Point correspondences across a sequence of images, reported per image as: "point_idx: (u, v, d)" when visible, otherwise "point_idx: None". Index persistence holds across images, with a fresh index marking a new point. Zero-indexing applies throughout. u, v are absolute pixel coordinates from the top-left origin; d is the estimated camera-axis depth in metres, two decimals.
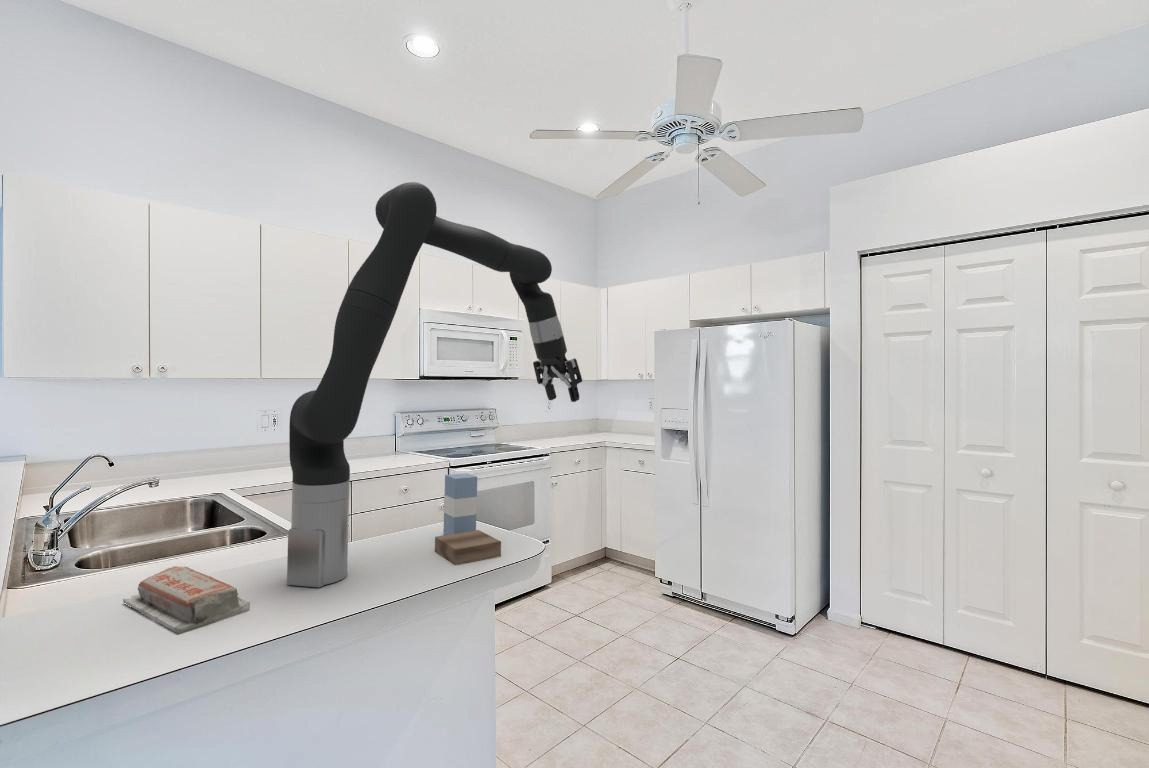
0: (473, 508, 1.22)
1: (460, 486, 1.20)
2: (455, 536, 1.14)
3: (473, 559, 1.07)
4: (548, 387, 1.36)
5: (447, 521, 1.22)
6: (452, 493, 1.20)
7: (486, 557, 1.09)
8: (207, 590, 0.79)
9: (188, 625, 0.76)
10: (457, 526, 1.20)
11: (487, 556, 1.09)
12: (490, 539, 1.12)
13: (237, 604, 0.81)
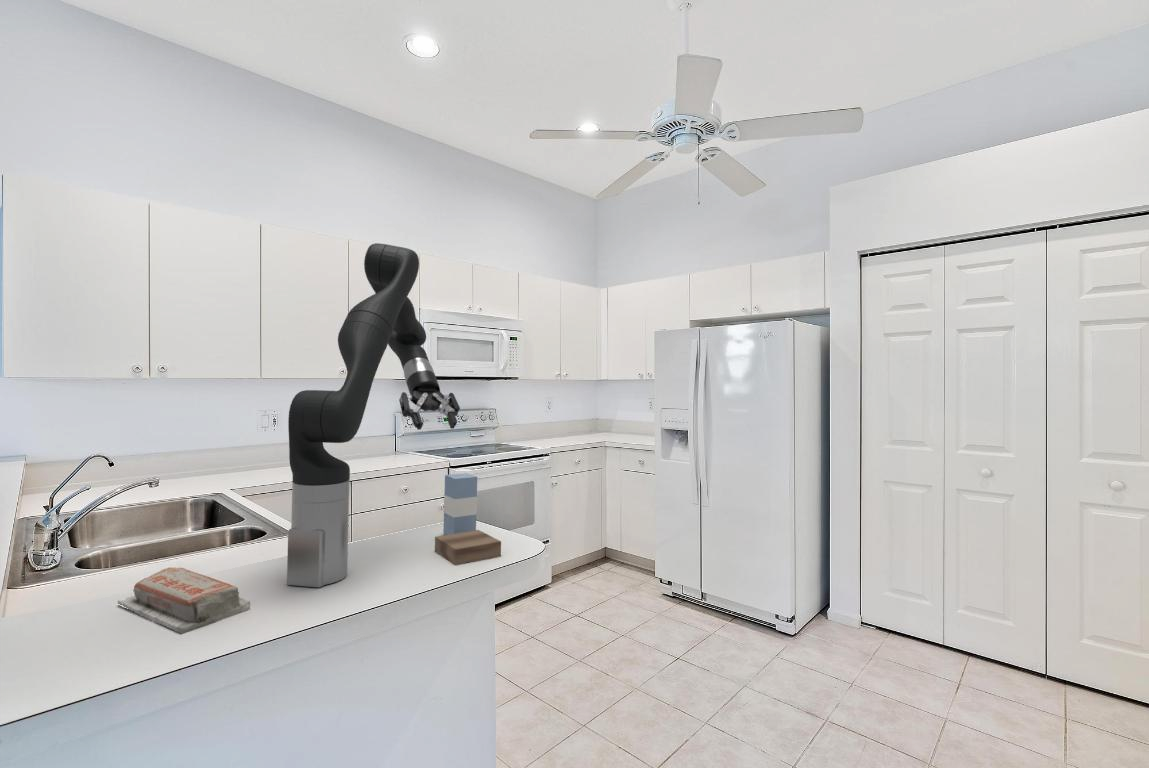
0: (473, 508, 1.22)
1: (460, 486, 1.20)
2: (455, 536, 1.14)
3: (473, 559, 1.07)
4: None
5: (447, 521, 1.22)
6: (452, 493, 1.20)
7: (486, 557, 1.09)
8: (208, 590, 0.79)
9: (190, 624, 0.76)
10: (457, 526, 1.20)
11: (487, 556, 1.09)
12: (490, 539, 1.12)
13: (238, 603, 0.82)
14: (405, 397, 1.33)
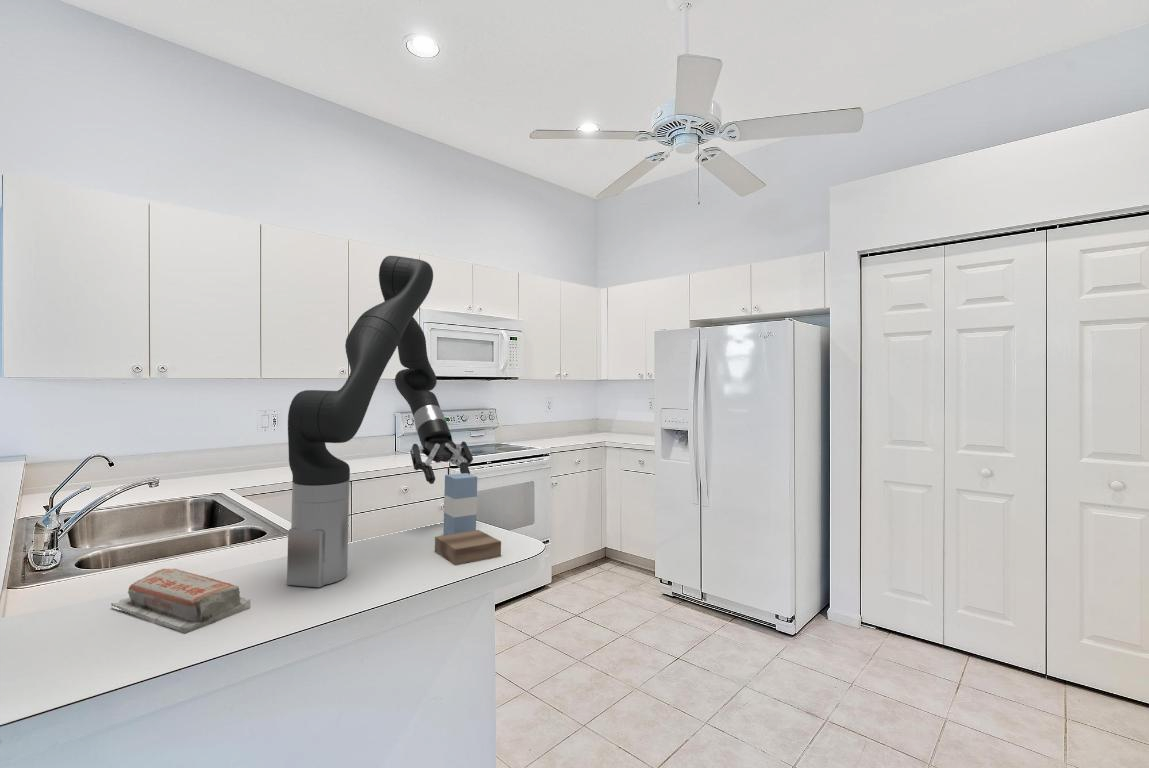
0: (473, 508, 1.22)
1: (460, 486, 1.20)
2: (455, 536, 1.14)
3: (473, 559, 1.07)
4: None
5: (447, 521, 1.22)
6: (452, 493, 1.20)
7: (486, 557, 1.09)
8: (209, 589, 0.80)
9: (194, 624, 0.76)
10: (457, 526, 1.20)
11: (487, 556, 1.09)
12: (490, 539, 1.12)
13: (239, 602, 0.82)
14: (416, 449, 1.28)
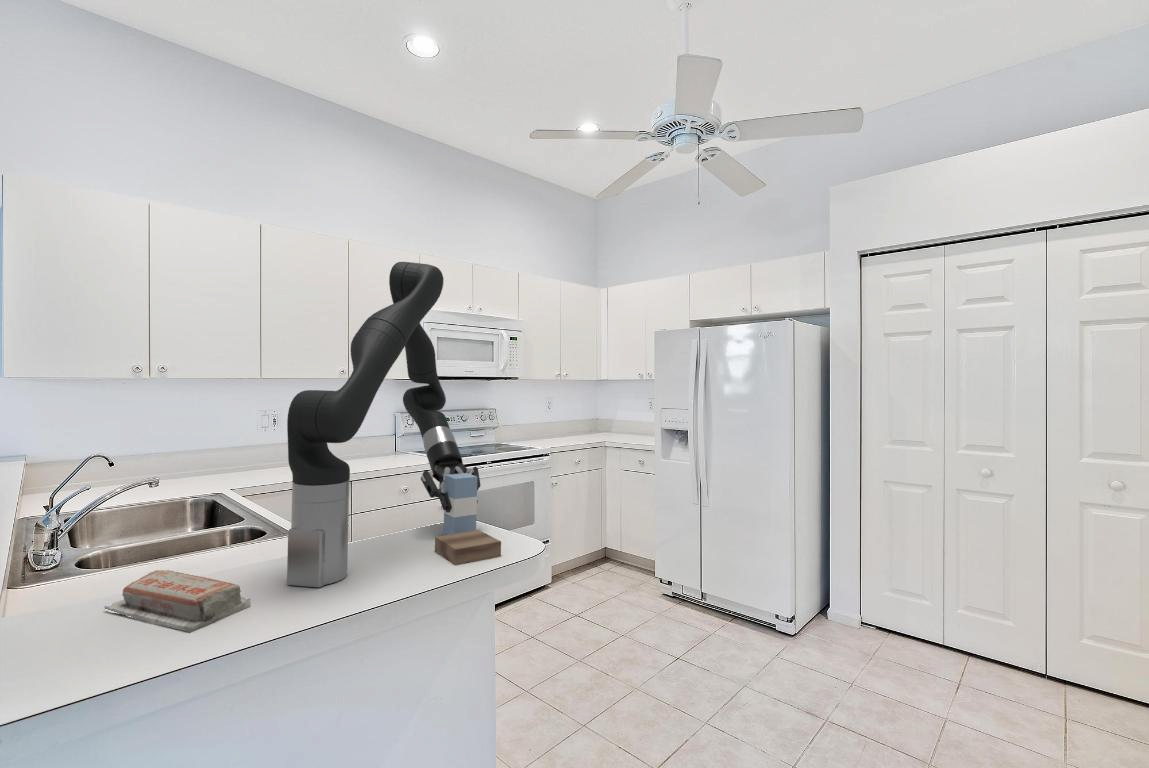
0: (473, 508, 1.22)
1: (460, 486, 1.20)
2: (455, 536, 1.14)
3: (473, 559, 1.07)
4: None
5: (447, 521, 1.22)
6: (452, 493, 1.20)
7: (486, 557, 1.09)
8: (210, 589, 0.80)
9: (197, 623, 0.76)
10: (458, 526, 1.20)
11: (487, 556, 1.09)
12: (490, 539, 1.12)
13: (240, 601, 0.82)
14: (428, 476, 1.23)
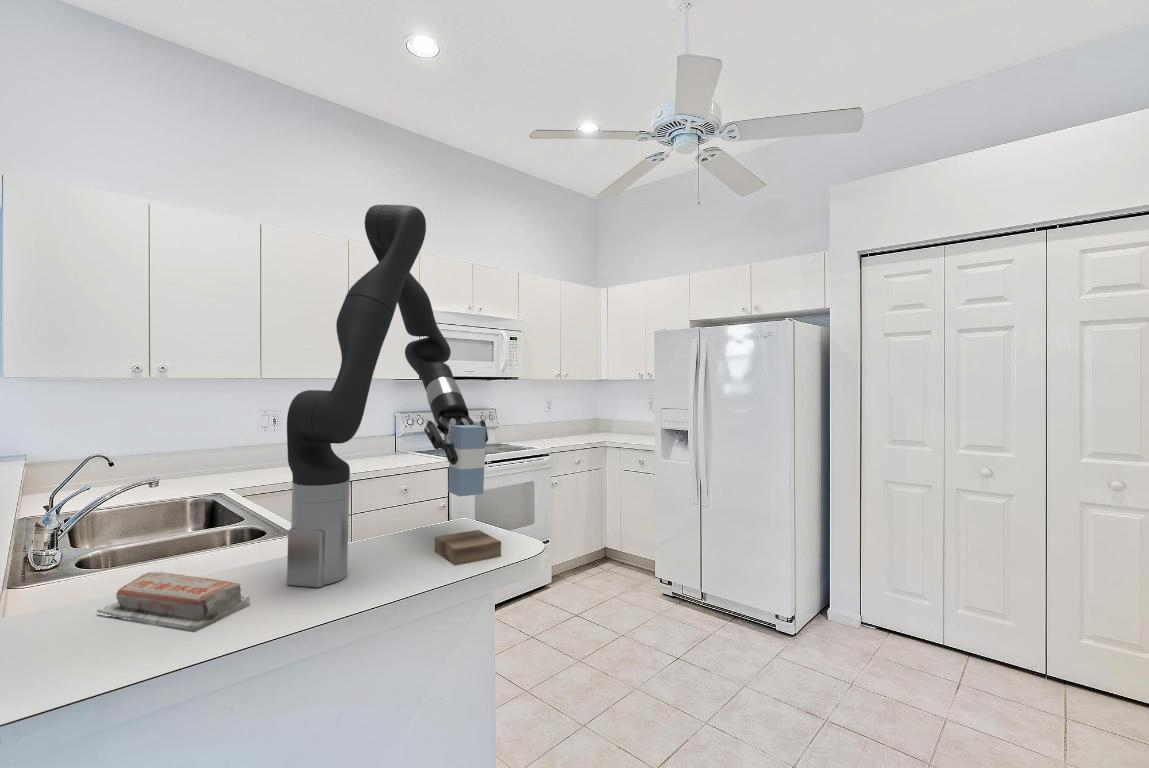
0: (481, 461, 1.13)
1: (468, 436, 1.11)
2: (455, 536, 1.14)
3: (473, 559, 1.07)
4: None
5: (452, 475, 1.13)
6: (459, 443, 1.11)
7: (486, 557, 1.09)
8: (212, 588, 0.80)
9: (202, 622, 0.77)
10: (464, 479, 1.11)
11: (487, 556, 1.09)
12: (490, 539, 1.12)
13: (240, 599, 0.83)
14: (433, 426, 1.14)
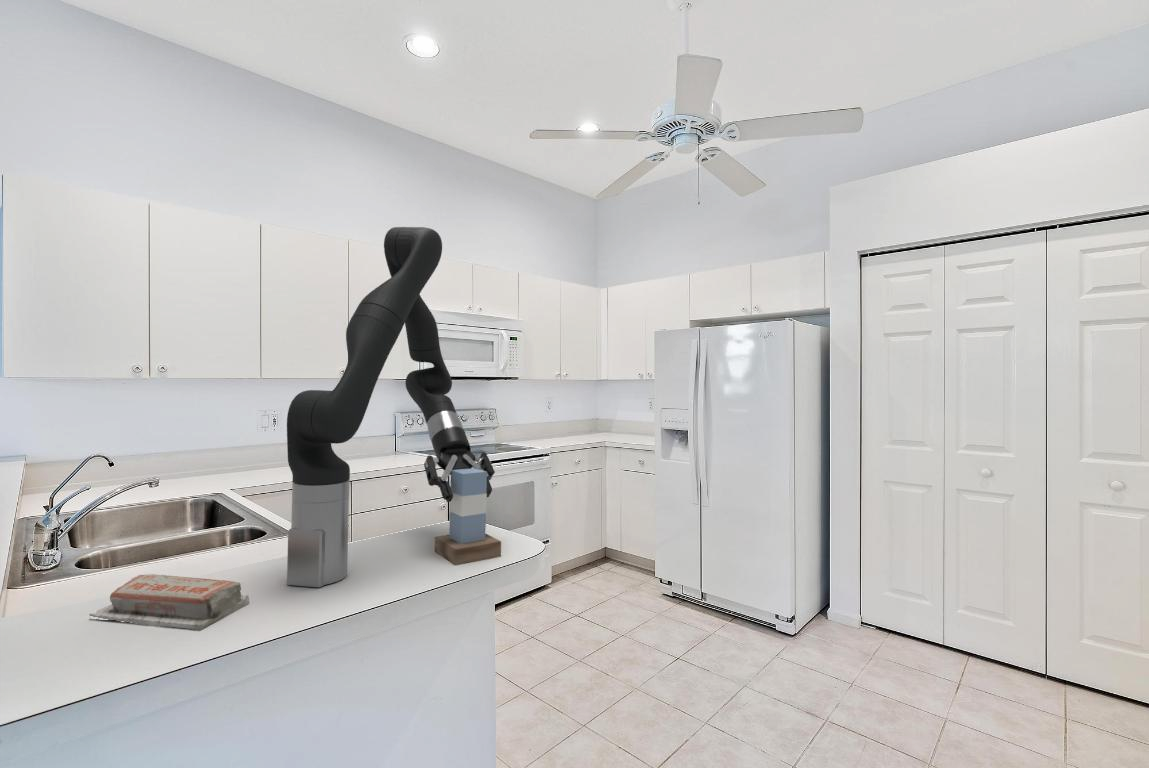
0: (482, 506, 1.11)
1: (469, 482, 1.09)
2: None
3: (473, 559, 1.07)
4: None
5: (453, 521, 1.11)
6: (460, 489, 1.09)
7: (486, 557, 1.09)
8: (213, 587, 0.80)
9: (206, 620, 0.77)
10: (466, 526, 1.09)
11: (487, 556, 1.09)
12: (490, 539, 1.12)
13: (240, 598, 0.84)
14: (431, 462, 1.12)
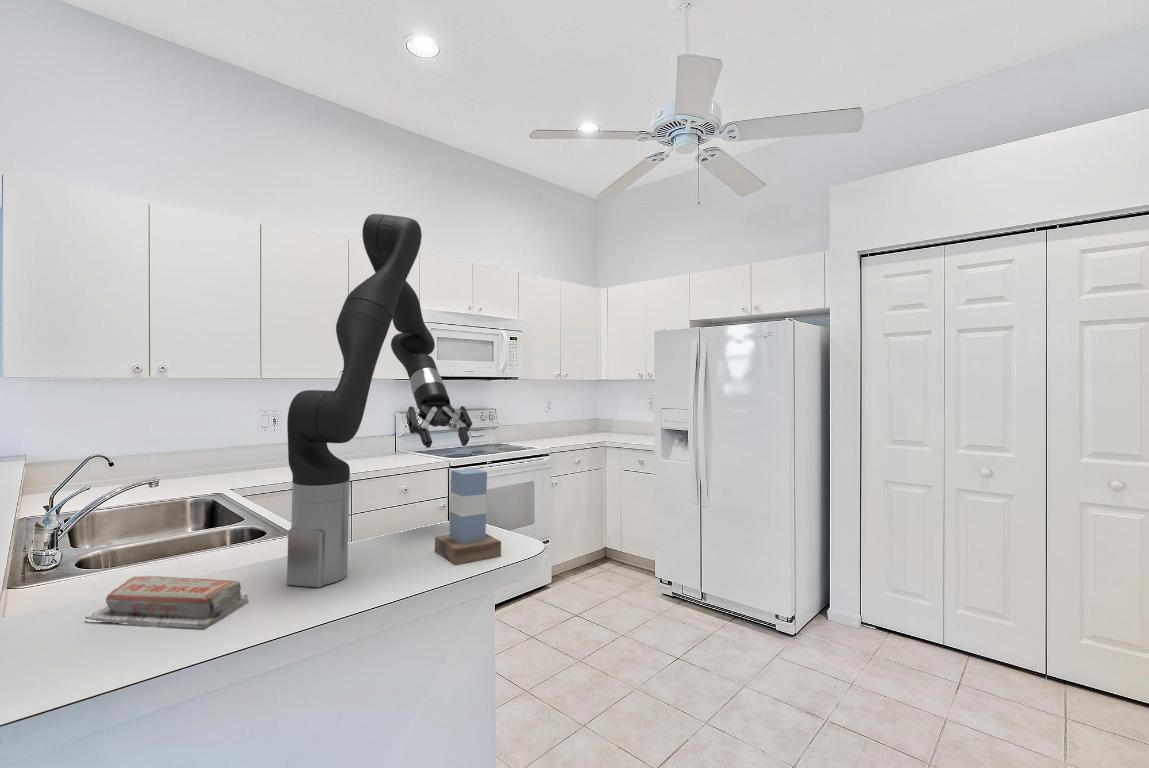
0: (482, 506, 1.11)
1: (469, 482, 1.09)
2: None
3: (473, 559, 1.07)
4: None
5: (454, 521, 1.11)
6: (460, 490, 1.09)
7: (486, 557, 1.09)
8: (214, 587, 0.81)
9: (209, 620, 0.77)
10: (466, 527, 1.09)
11: (487, 556, 1.09)
12: (490, 539, 1.12)
13: (240, 597, 0.84)
14: (413, 412, 1.21)
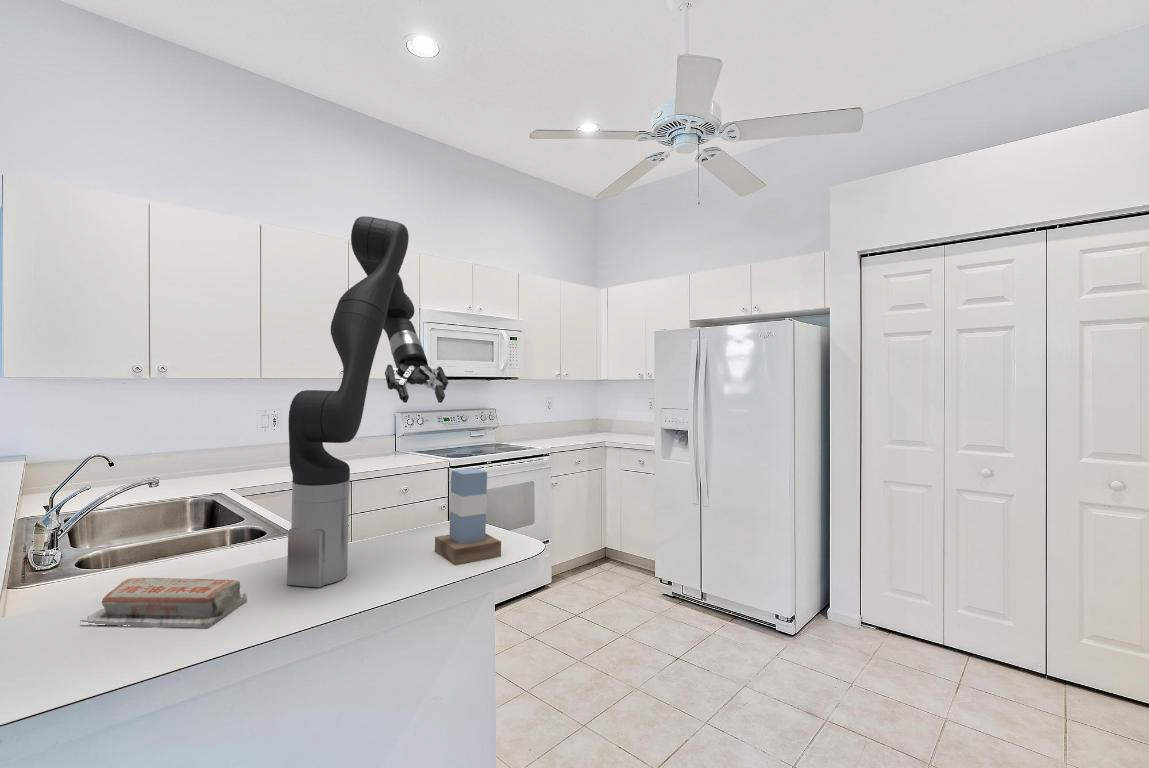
0: (482, 506, 1.11)
1: (469, 482, 1.09)
2: None
3: (473, 559, 1.07)
4: None
5: (454, 521, 1.11)
6: (460, 490, 1.09)
7: (486, 557, 1.09)
8: (214, 586, 0.81)
9: (212, 619, 0.78)
10: (466, 527, 1.09)
11: (487, 556, 1.09)
12: (490, 539, 1.12)
13: (239, 596, 0.84)
14: (391, 369, 1.28)
